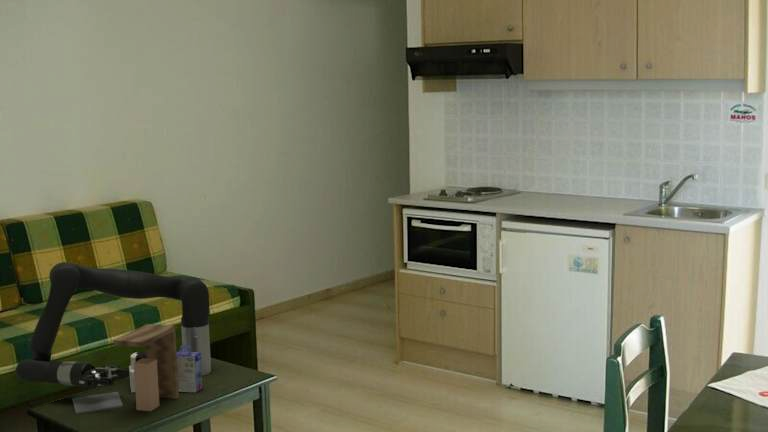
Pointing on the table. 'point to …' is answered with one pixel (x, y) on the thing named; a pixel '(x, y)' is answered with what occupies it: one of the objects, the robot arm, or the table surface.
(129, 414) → the table surface
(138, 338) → the walnut shelf
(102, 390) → the table surface
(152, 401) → the terracotta carton
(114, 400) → the slate mat
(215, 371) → the table surface
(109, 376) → the robot arm
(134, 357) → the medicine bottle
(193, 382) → the ink cartridge box
